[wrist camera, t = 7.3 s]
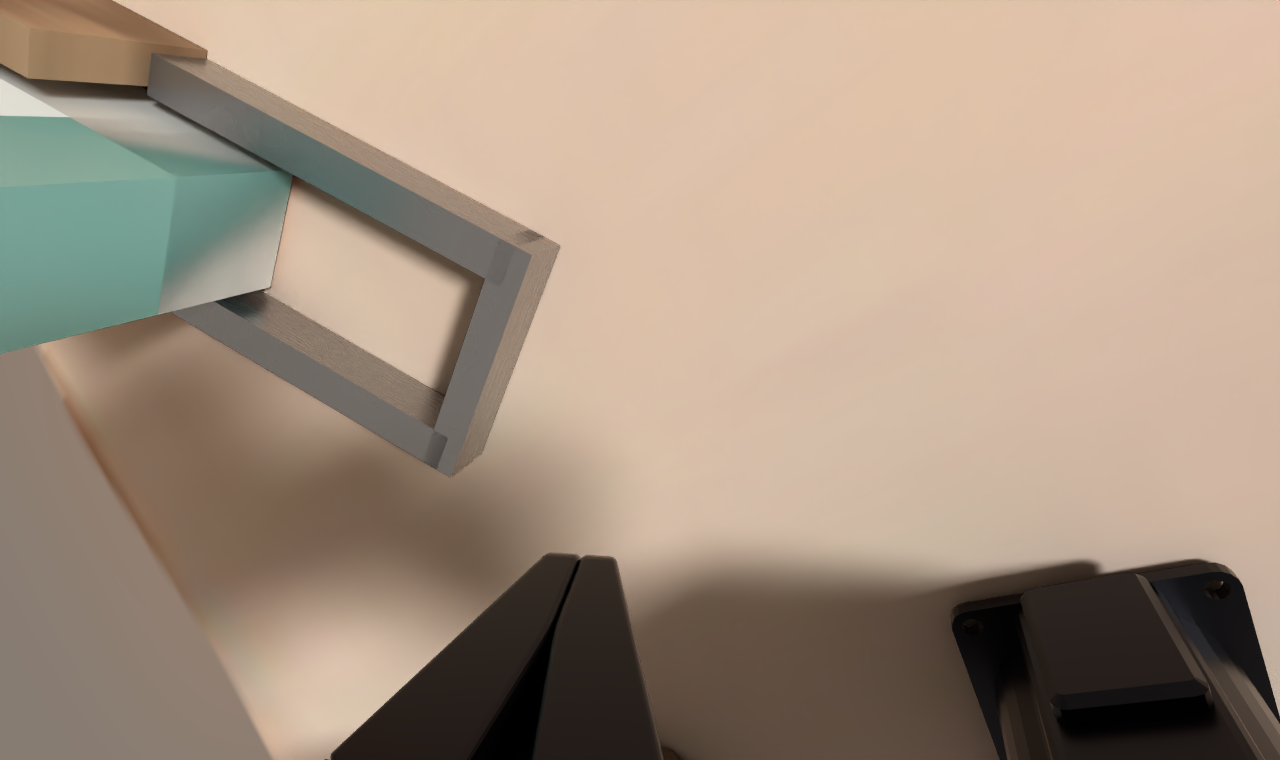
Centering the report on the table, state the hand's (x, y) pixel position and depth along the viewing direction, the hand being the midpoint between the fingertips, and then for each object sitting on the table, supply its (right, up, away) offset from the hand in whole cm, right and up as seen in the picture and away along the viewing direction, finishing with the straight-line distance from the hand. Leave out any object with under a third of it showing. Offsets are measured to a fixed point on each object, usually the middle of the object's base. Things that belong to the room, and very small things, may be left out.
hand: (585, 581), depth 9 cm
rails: (-8, +6, +14) cm, 17 cm away
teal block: (-14, +9, +14) cm, 22 cm away
